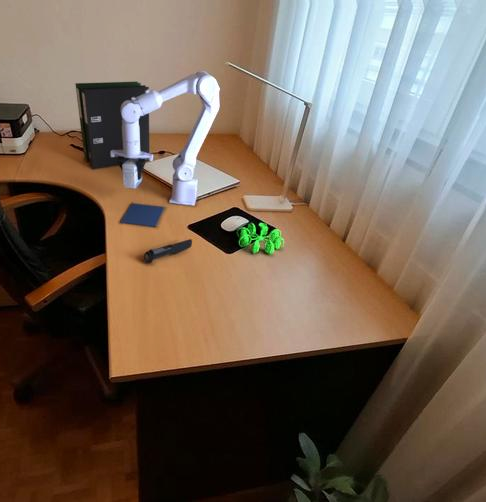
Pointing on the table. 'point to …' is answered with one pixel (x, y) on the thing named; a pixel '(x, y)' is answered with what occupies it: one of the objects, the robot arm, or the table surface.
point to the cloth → (142, 215)
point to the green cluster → (260, 238)
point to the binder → (107, 119)
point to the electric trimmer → (167, 250)
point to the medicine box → (130, 174)
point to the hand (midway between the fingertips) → (132, 178)
